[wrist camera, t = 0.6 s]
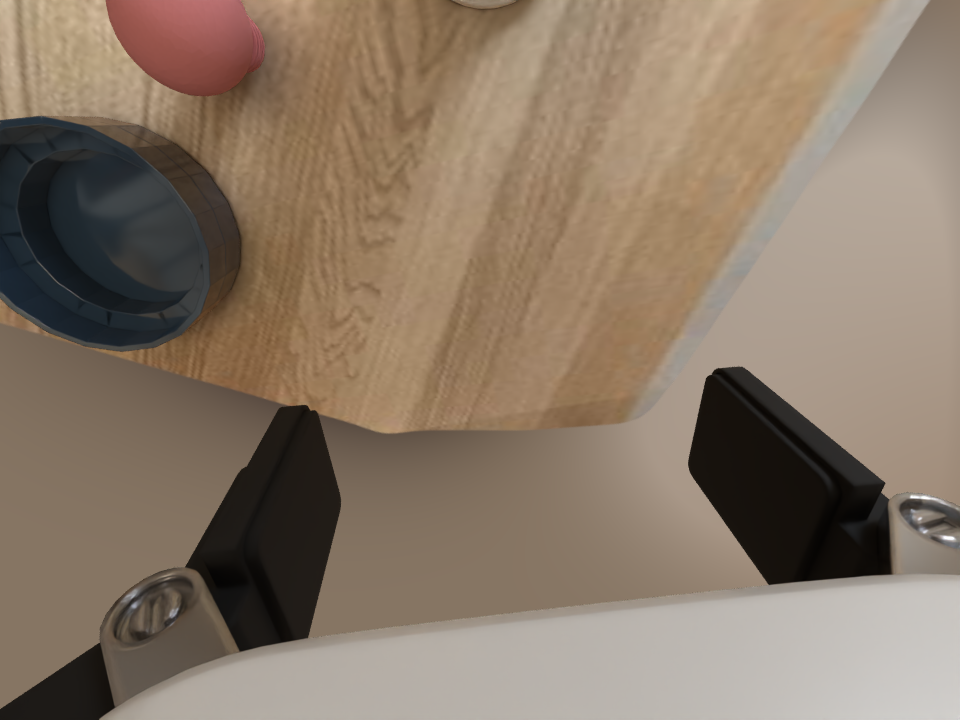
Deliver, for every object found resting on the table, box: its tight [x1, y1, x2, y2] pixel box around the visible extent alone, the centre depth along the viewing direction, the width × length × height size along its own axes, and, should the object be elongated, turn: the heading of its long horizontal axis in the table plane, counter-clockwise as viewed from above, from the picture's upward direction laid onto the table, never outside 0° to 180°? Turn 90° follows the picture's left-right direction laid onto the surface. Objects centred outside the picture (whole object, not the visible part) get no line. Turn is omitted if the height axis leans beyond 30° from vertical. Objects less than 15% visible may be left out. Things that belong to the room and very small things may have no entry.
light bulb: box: [106, 0, 265, 96], centre depth 29 cm, size 7×7×12 cm
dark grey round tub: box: [0, 116, 240, 352], centre depth 36 cm, size 17×17×6 cm
